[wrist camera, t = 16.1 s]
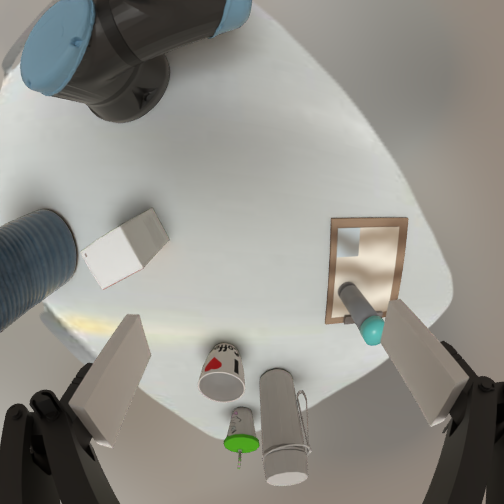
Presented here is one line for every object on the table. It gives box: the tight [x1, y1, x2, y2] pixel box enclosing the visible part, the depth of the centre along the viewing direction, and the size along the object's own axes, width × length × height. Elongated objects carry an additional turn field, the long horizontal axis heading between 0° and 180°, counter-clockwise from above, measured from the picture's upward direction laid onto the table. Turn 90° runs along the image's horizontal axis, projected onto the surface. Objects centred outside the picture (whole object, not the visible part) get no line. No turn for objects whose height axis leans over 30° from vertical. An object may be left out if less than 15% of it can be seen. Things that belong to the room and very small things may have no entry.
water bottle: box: [260, 369, 312, 486], centre depth 42 cm, size 9×8×25 cm
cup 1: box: [198, 343, 245, 402], centre depth 47 cm, size 8×8×10 cm
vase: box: [0, 209, 76, 333], centre depth 30 cm, size 16×16×32 cm
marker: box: [338, 282, 385, 346], centre depth 40 cm, size 4×4×14 cm
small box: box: [80, 208, 169, 290], centre depth 38 cm, size 8×6×13 cm
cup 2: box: [224, 407, 259, 469], centre depth 51 cm, size 8×8×15 cm
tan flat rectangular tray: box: [325, 218, 408, 324], centre depth 46 cm, size 20×15×2 cm
